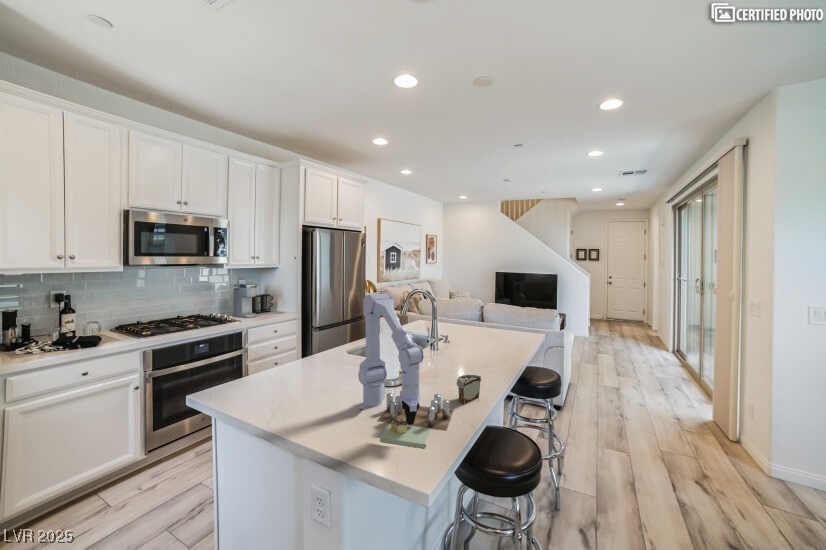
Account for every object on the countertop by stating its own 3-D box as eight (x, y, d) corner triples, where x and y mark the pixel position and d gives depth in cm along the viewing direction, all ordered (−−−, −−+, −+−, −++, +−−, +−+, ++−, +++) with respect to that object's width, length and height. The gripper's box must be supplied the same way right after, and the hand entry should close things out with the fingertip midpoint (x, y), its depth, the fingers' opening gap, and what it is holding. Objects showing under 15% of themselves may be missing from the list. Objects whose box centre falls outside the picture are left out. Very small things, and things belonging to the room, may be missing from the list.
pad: (390, 427, 118) (390, 423, 118) (431, 433, 115) (431, 428, 115) (380, 442, 109) (380, 437, 109) (424, 449, 105) (424, 444, 105)
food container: (468, 395, 146) (468, 372, 146) (480, 400, 142) (481, 375, 141) (449, 404, 138) (450, 379, 137) (462, 409, 133) (462, 383, 133)
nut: (387, 429, 114) (387, 422, 114) (398, 424, 117) (398, 416, 117) (400, 435, 110) (400, 427, 110) (411, 430, 114) (411, 422, 113)
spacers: (391, 404, 133) (391, 389, 133) (451, 412, 127) (451, 395, 127) (378, 420, 120) (378, 403, 120) (445, 429, 114) (445, 411, 114)
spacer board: (391, 406, 135) (391, 402, 135) (453, 414, 129) (453, 410, 129) (376, 425, 120) (376, 421, 120) (446, 435, 114) (446, 430, 114)
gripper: (396, 376, 122) (396, 414, 123) (400, 392, 108) (400, 435, 108) (416, 375, 123) (416, 413, 124) (423, 391, 109) (422, 433, 109)
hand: (410, 423), depth 116 cm, fingers closed
